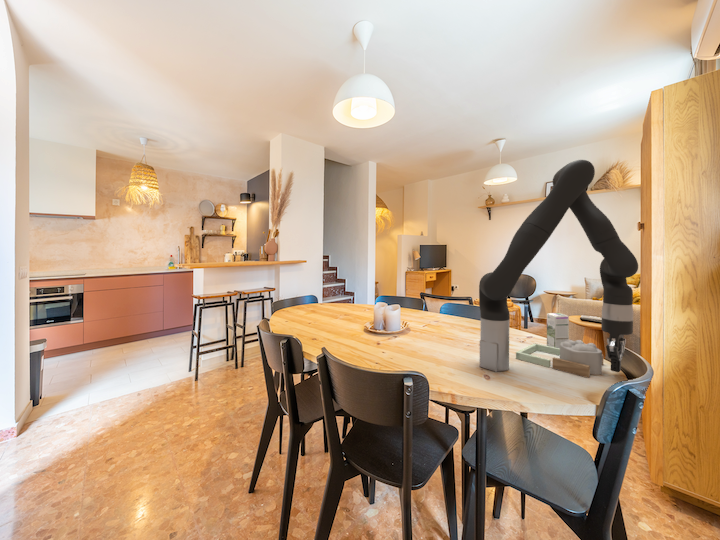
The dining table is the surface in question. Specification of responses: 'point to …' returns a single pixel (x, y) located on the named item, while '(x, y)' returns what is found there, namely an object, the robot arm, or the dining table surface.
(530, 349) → the green rectangular frame
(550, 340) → the syrup box
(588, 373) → the chute
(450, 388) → the dining table surface
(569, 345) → the lumpy-topped squat cylinder
